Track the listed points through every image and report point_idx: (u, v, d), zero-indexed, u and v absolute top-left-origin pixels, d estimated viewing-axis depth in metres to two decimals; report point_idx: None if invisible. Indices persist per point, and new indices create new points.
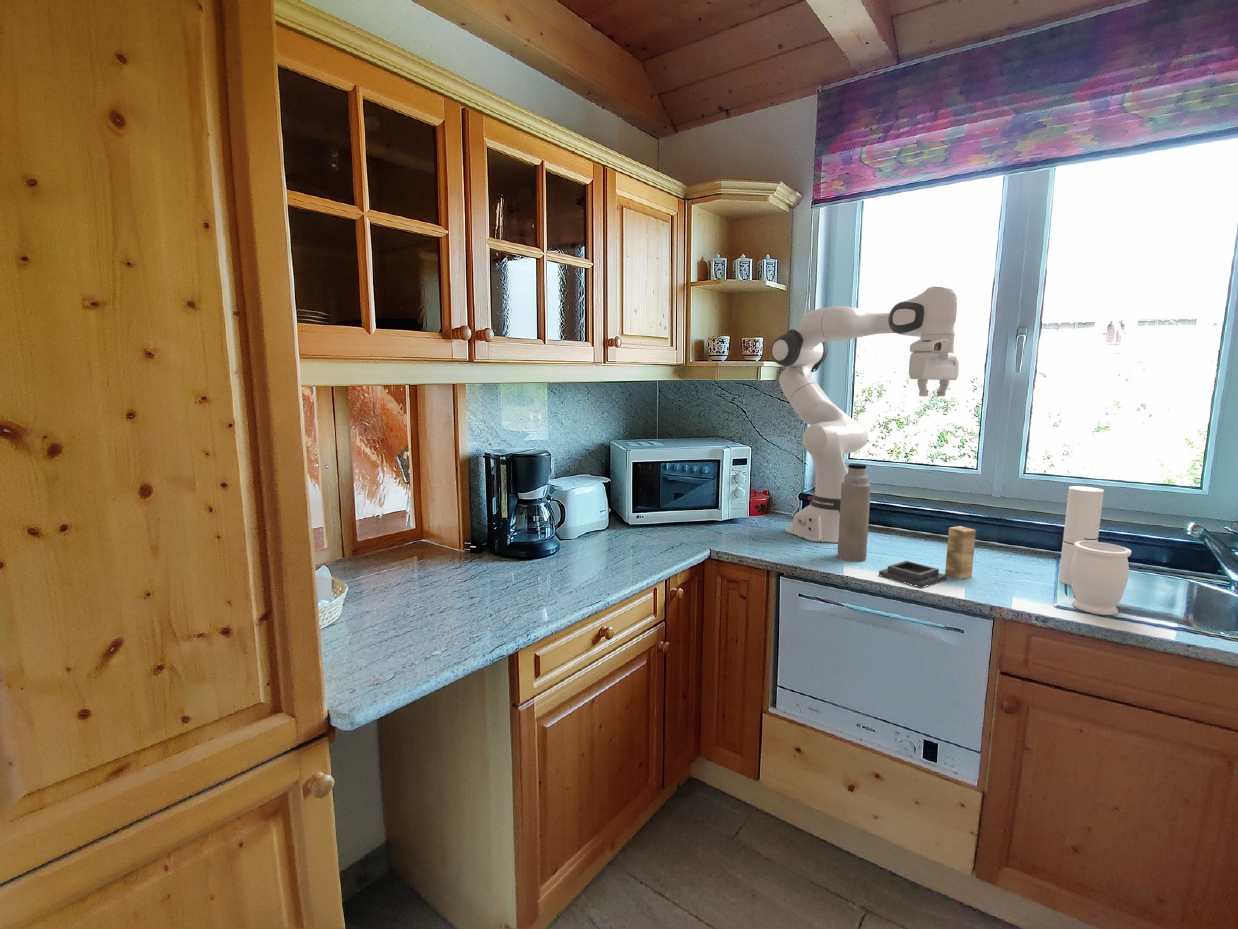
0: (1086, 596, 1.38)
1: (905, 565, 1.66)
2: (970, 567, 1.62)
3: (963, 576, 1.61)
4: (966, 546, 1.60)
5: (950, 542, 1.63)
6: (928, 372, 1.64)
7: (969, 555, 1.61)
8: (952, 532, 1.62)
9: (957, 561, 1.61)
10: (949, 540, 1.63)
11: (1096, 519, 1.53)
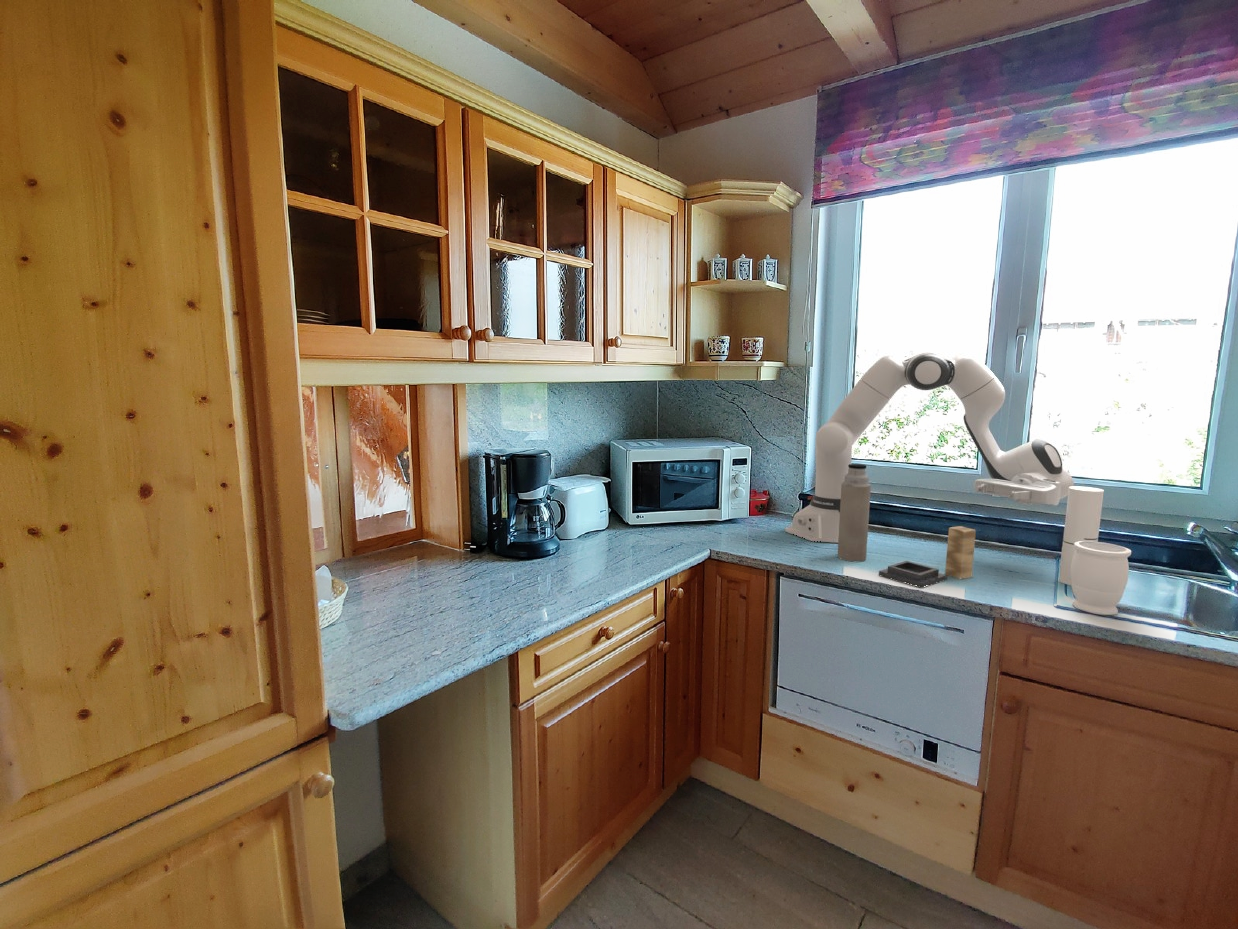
0: (1086, 596, 1.38)
1: (905, 565, 1.66)
2: (970, 567, 1.62)
3: (963, 576, 1.61)
4: (966, 546, 1.60)
5: (950, 542, 1.63)
6: None
7: (969, 555, 1.61)
8: (952, 532, 1.62)
9: (957, 561, 1.61)
10: (949, 540, 1.63)
11: (1096, 519, 1.53)
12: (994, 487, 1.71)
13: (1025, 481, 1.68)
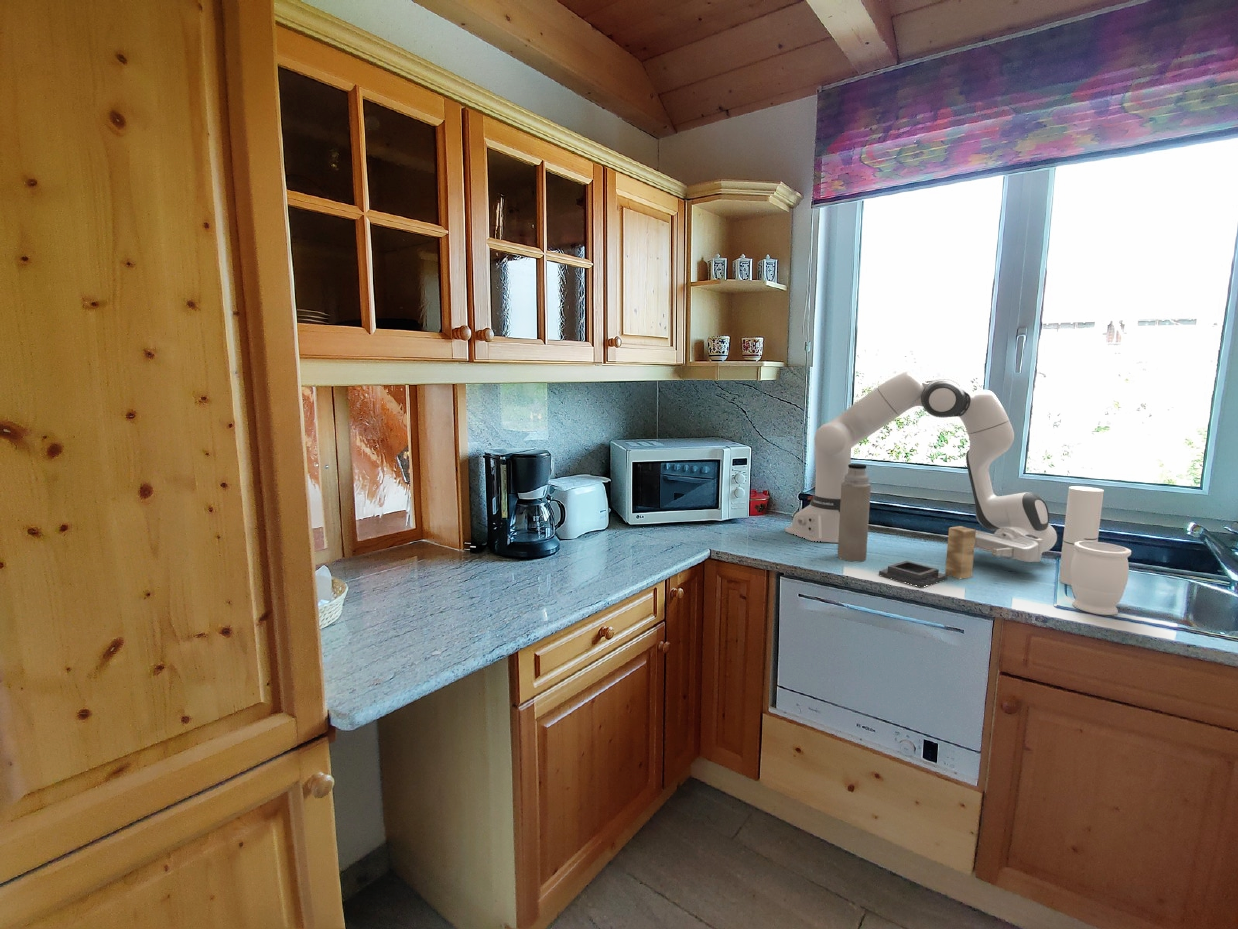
0: (1086, 596, 1.38)
1: (905, 565, 1.66)
2: (970, 567, 1.62)
3: (963, 576, 1.61)
4: (966, 546, 1.60)
5: (950, 542, 1.63)
6: None
7: (969, 555, 1.61)
8: (952, 532, 1.62)
9: (957, 561, 1.61)
10: (949, 540, 1.63)
11: (1096, 519, 1.53)
12: (977, 541, 1.72)
13: (1008, 536, 1.69)
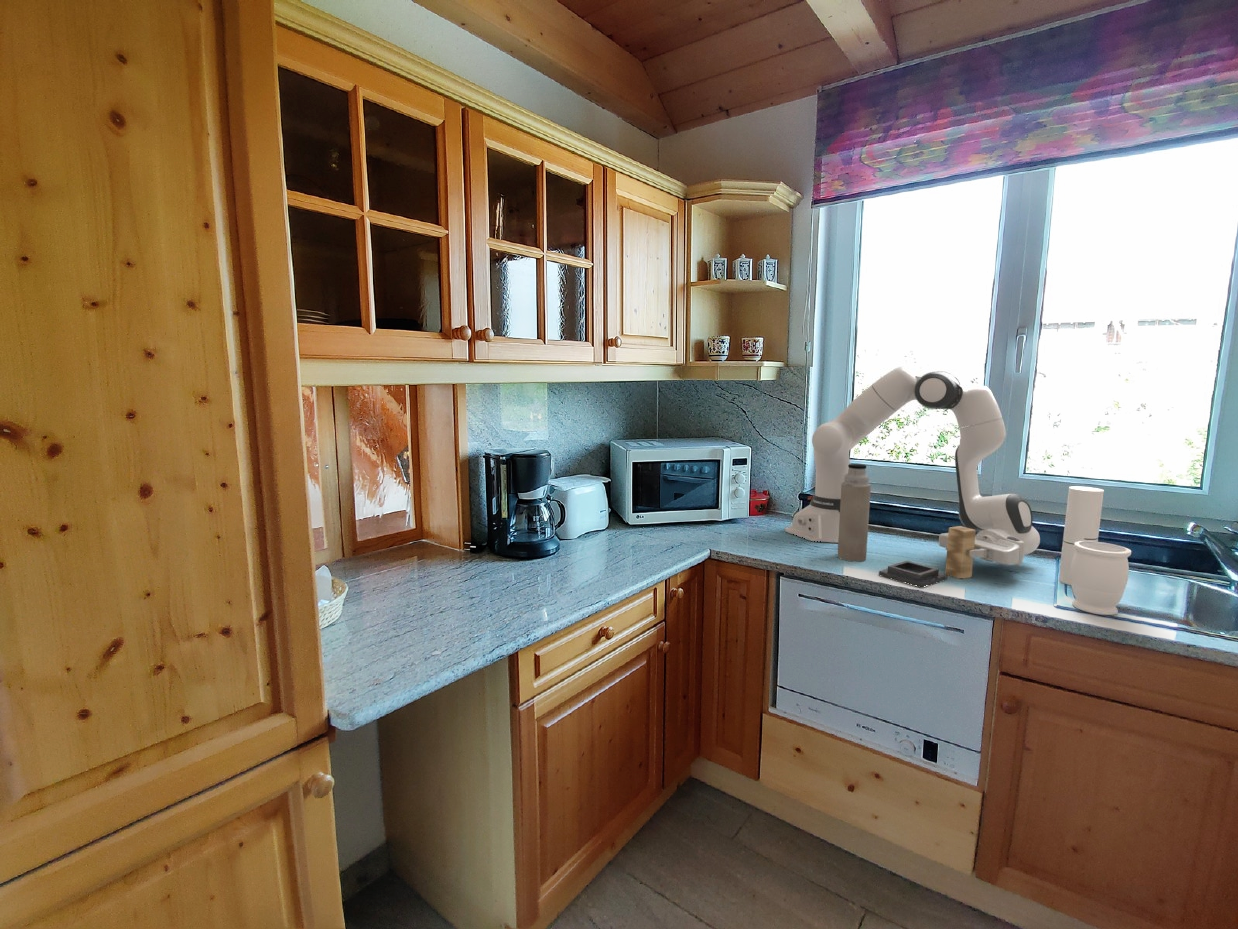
0: (1086, 596, 1.38)
1: (905, 565, 1.66)
2: (970, 567, 1.62)
3: (963, 576, 1.61)
4: (965, 546, 1.60)
5: (950, 542, 1.63)
6: None
7: None
8: (952, 532, 1.62)
9: (957, 561, 1.61)
10: (949, 540, 1.63)
11: (1096, 519, 1.53)
12: None
13: (989, 538, 1.65)
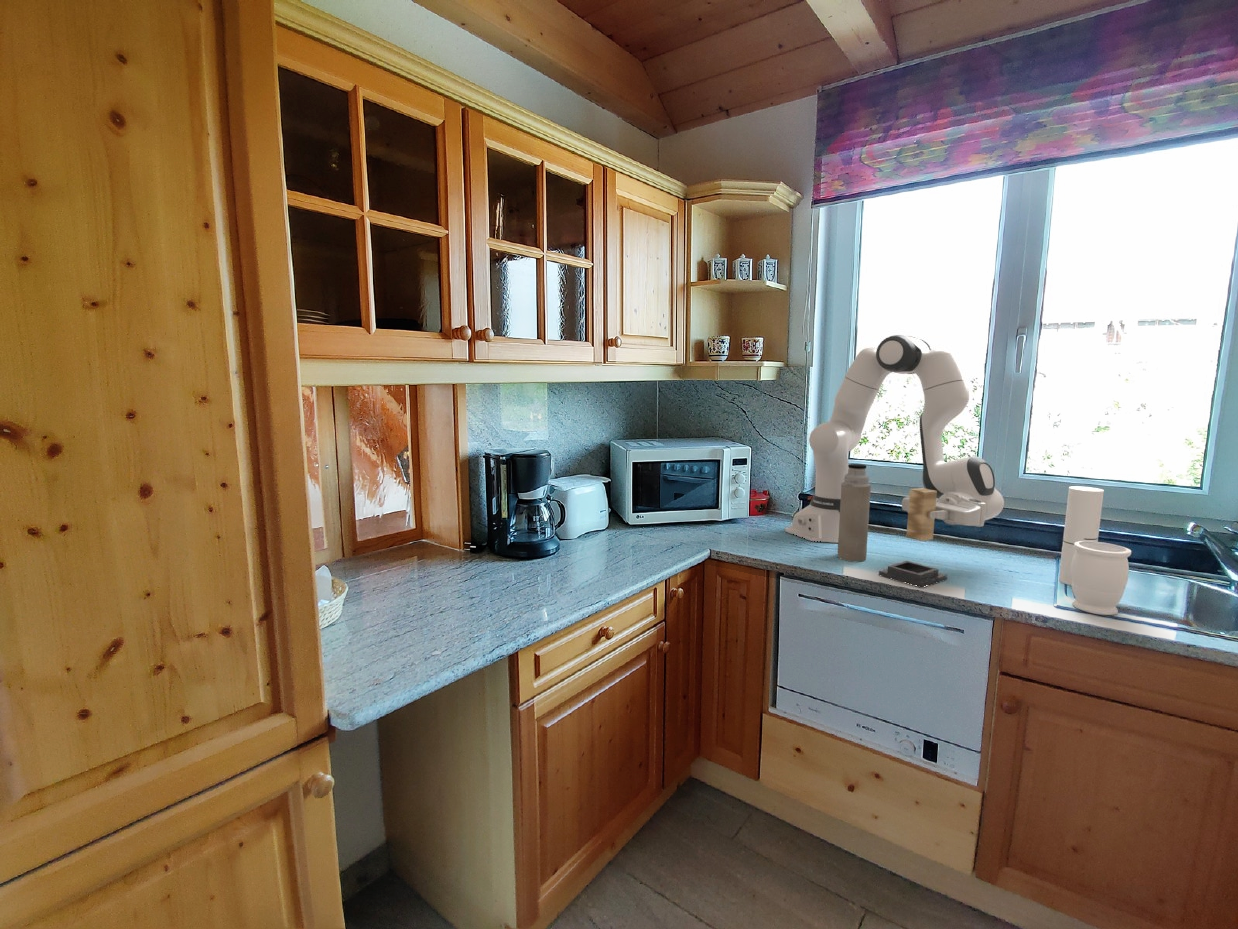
0: (1086, 596, 1.38)
1: (905, 565, 1.66)
2: (931, 529, 1.59)
3: (924, 538, 1.58)
4: (926, 507, 1.57)
5: (911, 503, 1.60)
6: None
7: None
8: (913, 493, 1.59)
9: (918, 523, 1.58)
10: (910, 502, 1.60)
11: (1096, 519, 1.53)
12: None
13: (951, 501, 1.62)
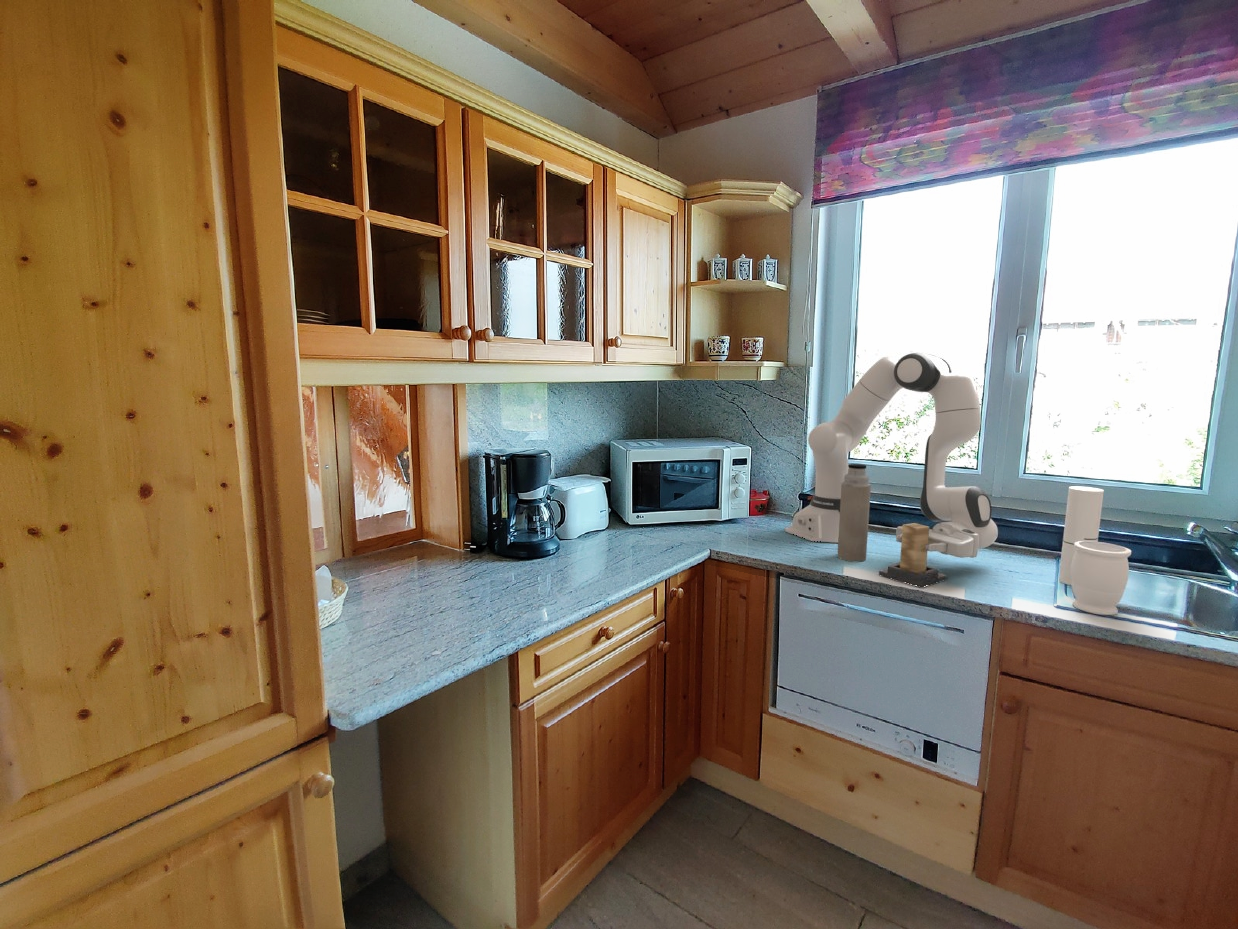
0: (1086, 596, 1.38)
1: None
2: (924, 564, 1.60)
3: None
4: (919, 543, 1.58)
5: (904, 539, 1.61)
6: None
7: (922, 552, 1.59)
8: (906, 529, 1.60)
9: (911, 558, 1.59)
10: (903, 537, 1.61)
11: (1096, 519, 1.53)
12: None
13: (945, 531, 1.63)
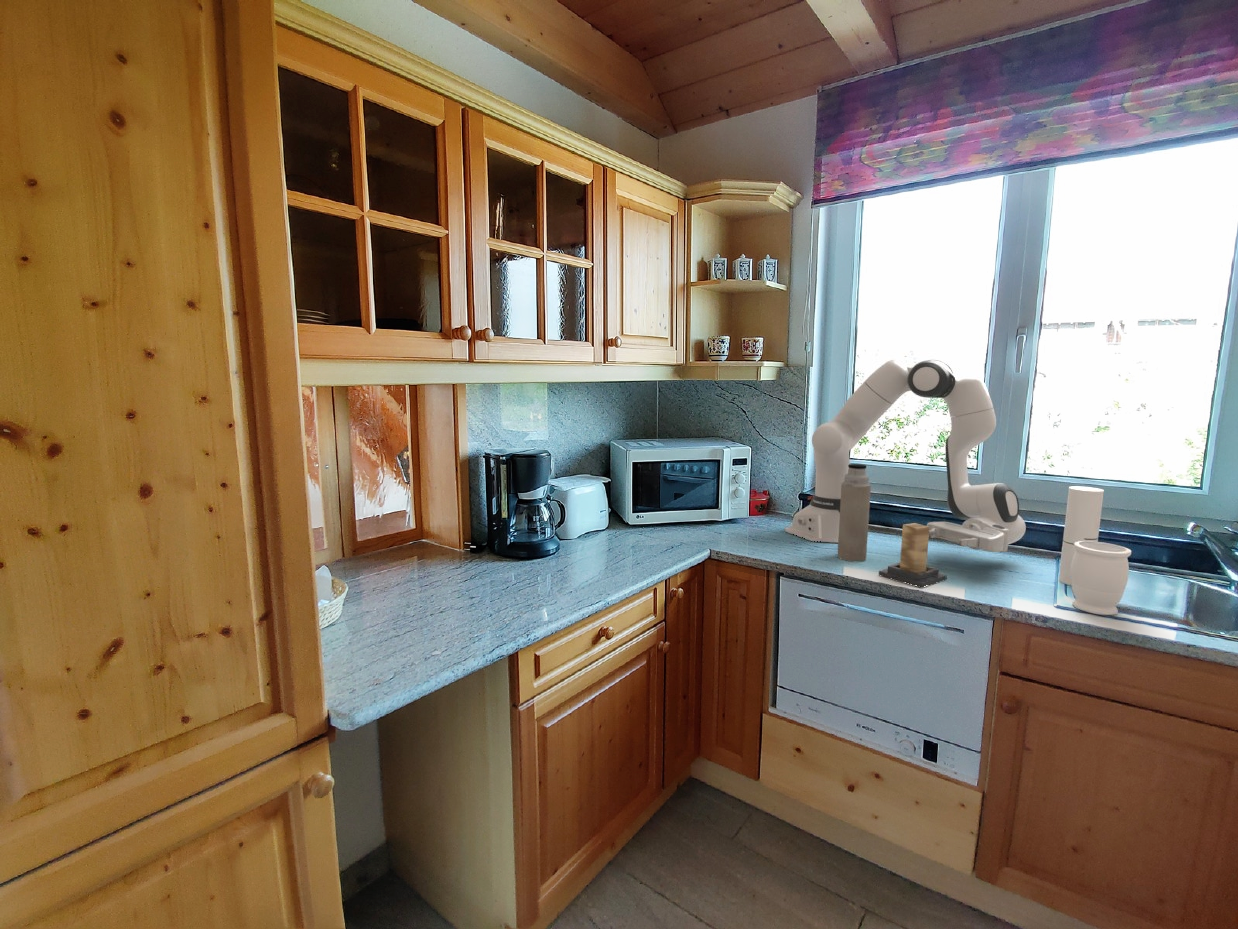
0: (1086, 596, 1.38)
1: None
2: (924, 564, 1.60)
3: None
4: (919, 543, 1.58)
5: (904, 539, 1.61)
6: None
7: (922, 552, 1.59)
8: (906, 529, 1.60)
9: (911, 558, 1.59)
10: (903, 537, 1.61)
11: (1096, 519, 1.53)
12: (945, 532, 1.71)
13: (975, 526, 1.68)
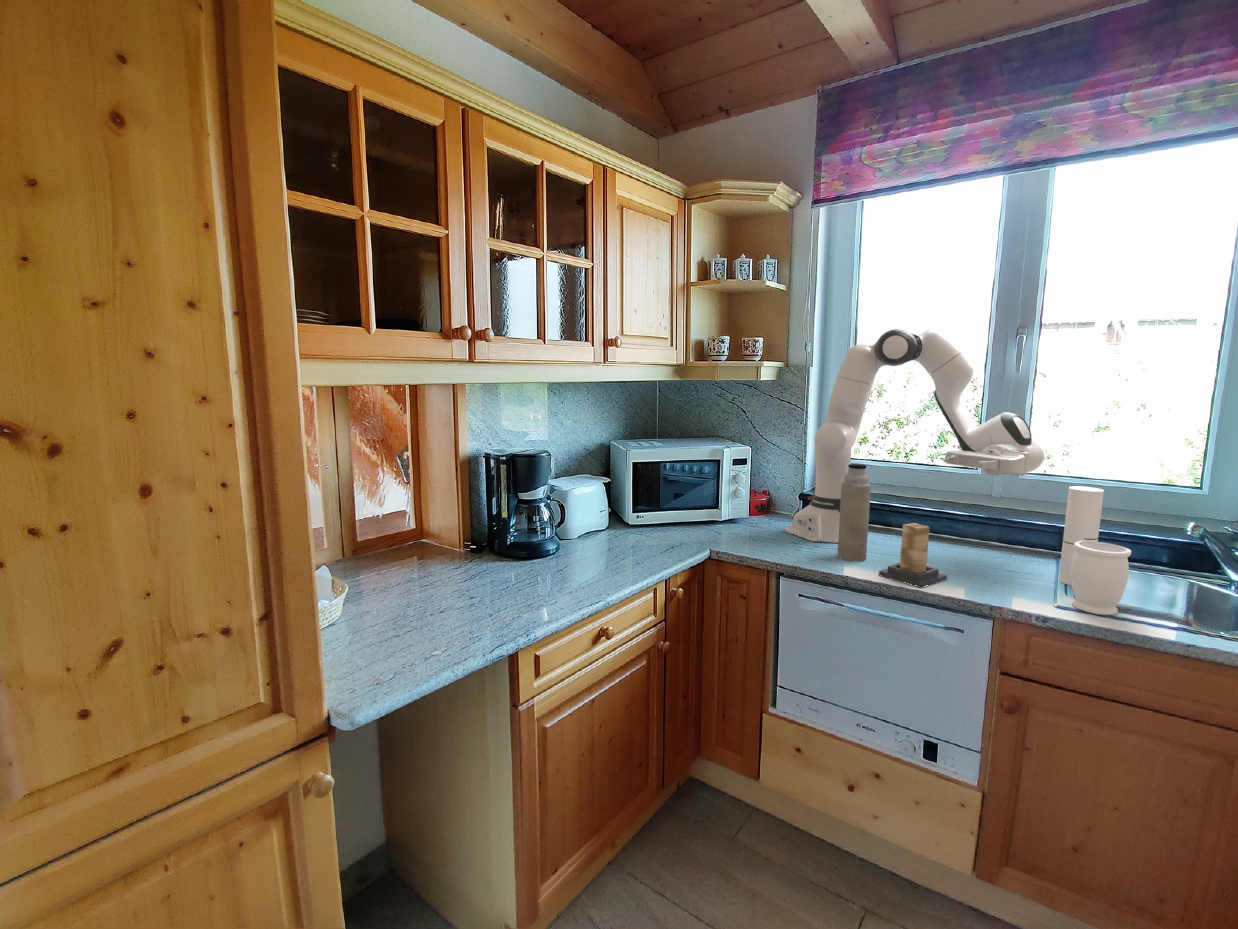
0: (1086, 596, 1.38)
1: None
2: (924, 564, 1.60)
3: None
4: (919, 543, 1.58)
5: (904, 539, 1.61)
6: None
7: (922, 552, 1.59)
8: (906, 529, 1.60)
9: (911, 558, 1.59)
10: (903, 537, 1.61)
11: (1096, 519, 1.53)
12: (964, 458, 1.72)
13: (995, 452, 1.69)
